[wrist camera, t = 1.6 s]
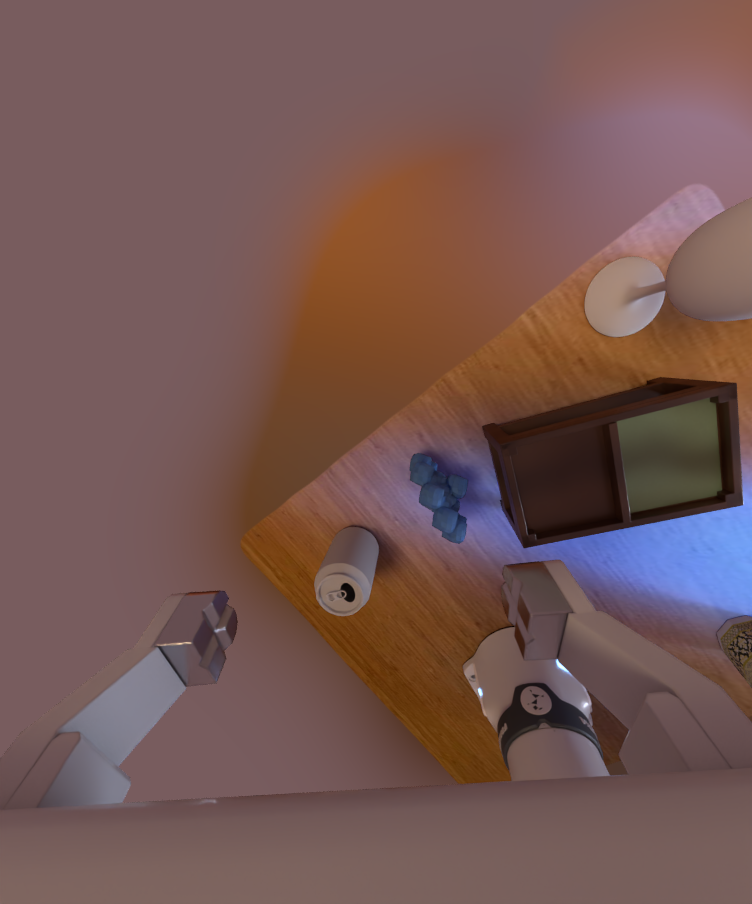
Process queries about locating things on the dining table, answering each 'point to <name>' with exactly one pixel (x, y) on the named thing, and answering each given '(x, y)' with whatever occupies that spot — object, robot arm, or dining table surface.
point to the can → (347, 572)
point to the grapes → (440, 496)
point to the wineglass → (680, 279)
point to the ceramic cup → (738, 644)
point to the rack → (620, 460)
